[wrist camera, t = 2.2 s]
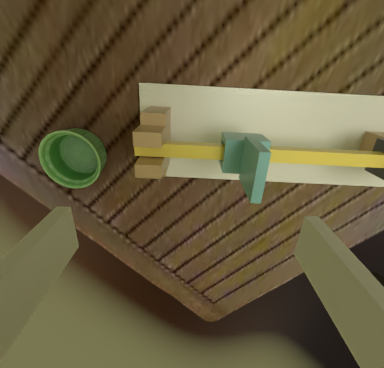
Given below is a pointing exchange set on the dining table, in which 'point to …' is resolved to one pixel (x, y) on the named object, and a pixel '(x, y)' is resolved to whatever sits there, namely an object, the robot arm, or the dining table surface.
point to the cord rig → (261, 124)
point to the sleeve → (247, 161)
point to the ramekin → (72, 157)
